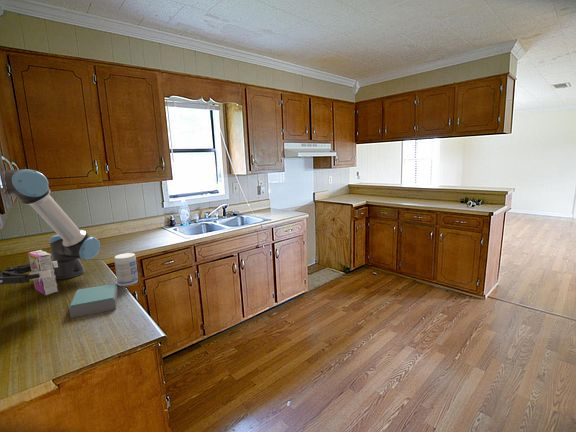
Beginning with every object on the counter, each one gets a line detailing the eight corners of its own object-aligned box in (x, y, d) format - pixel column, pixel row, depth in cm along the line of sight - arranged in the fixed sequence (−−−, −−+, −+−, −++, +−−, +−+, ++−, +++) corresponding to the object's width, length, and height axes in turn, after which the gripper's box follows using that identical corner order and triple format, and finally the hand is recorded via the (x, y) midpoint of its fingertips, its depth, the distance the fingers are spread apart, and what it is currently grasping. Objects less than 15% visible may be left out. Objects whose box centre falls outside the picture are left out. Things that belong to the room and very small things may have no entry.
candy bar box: (34, 289, 129) (26, 252, 126) (48, 285, 133) (41, 249, 130) (44, 296, 123) (37, 257, 120) (59, 291, 127) (52, 253, 124)
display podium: (77, 300, 139) (76, 289, 138) (118, 292, 146) (116, 282, 145) (70, 317, 123) (68, 306, 122) (116, 308, 130) (114, 297, 129)
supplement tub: (137, 285, 154) (133, 257, 151) (115, 288, 151) (112, 259, 148) (139, 278, 163) (136, 251, 160) (119, 281, 160) (116, 253, 157)
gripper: (-2, 277, 130) (61, 267, 139) (-28, 300, 109) (48, 287, 118) (-5, 260, 128) (58, 252, 138) (-33, 280, 107) (44, 269, 116)
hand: (53, 268), depth 128 cm, fingers closed on candy bar box, 12 cm apart
